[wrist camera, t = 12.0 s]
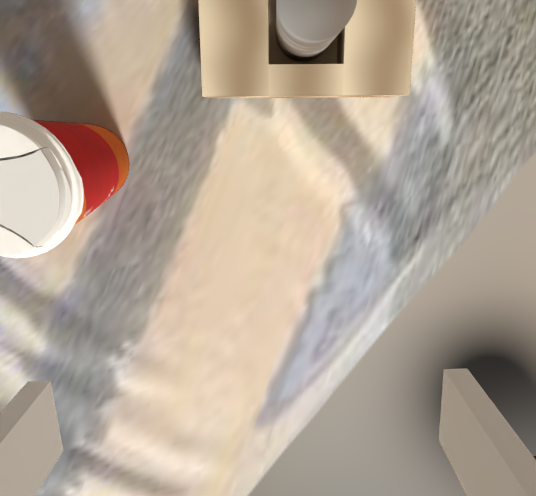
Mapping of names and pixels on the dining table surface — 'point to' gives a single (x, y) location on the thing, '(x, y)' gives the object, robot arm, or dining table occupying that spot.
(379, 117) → the dining table surface
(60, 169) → the coffee cup
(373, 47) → the bore block
